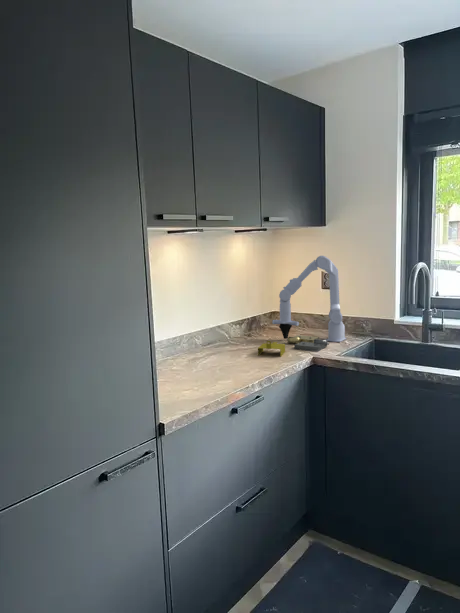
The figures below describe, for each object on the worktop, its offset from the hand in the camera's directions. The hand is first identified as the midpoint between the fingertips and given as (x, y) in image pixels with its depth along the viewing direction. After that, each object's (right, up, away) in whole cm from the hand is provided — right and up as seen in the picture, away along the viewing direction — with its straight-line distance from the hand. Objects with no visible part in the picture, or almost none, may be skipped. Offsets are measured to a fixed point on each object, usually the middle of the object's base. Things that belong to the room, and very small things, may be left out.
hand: (285, 338), depth 239 cm
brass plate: (+8, -1, -7) cm, 11 cm away
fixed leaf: (+10, -3, -19) cm, 22 cm away
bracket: (-9, -6, -27) cm, 29 cm away
